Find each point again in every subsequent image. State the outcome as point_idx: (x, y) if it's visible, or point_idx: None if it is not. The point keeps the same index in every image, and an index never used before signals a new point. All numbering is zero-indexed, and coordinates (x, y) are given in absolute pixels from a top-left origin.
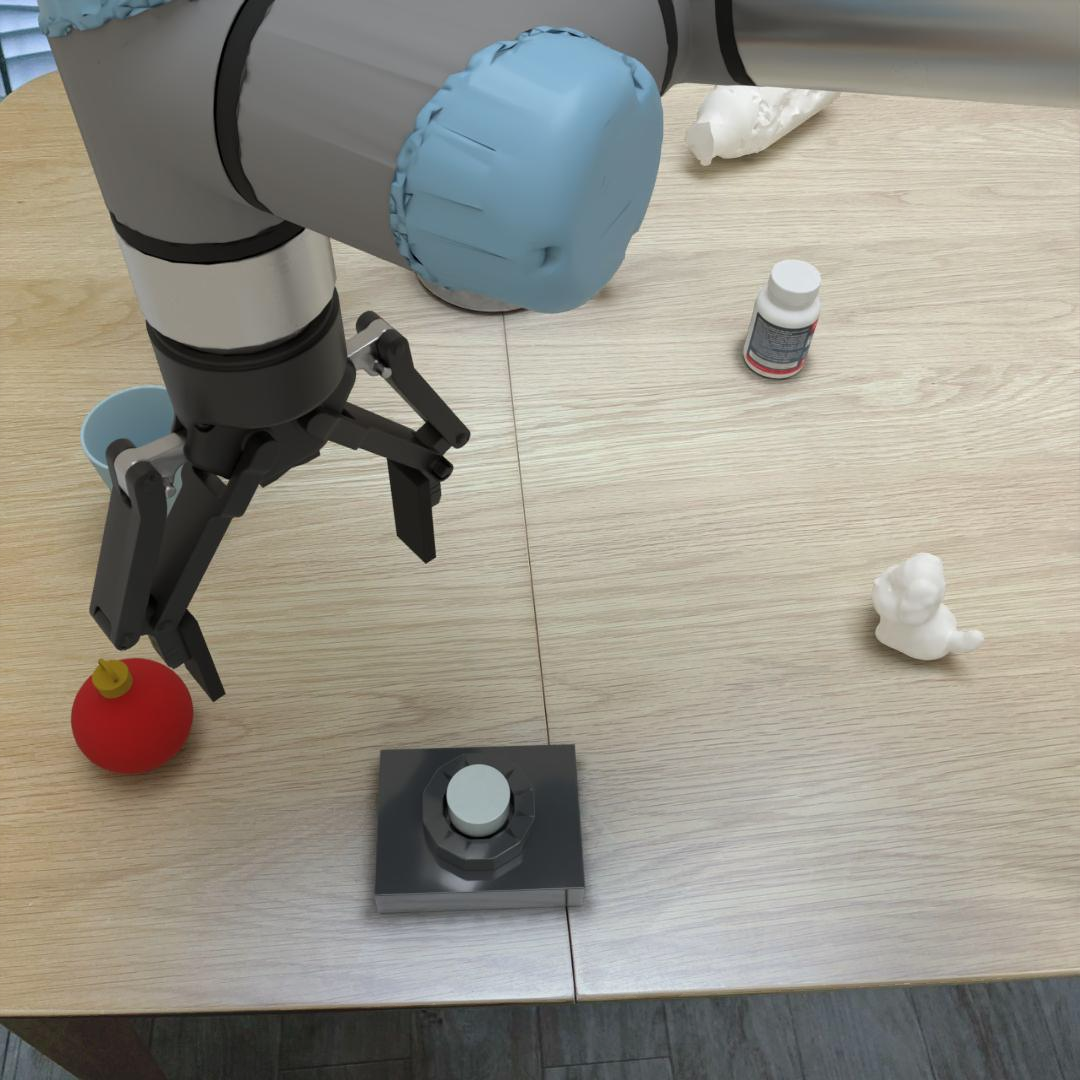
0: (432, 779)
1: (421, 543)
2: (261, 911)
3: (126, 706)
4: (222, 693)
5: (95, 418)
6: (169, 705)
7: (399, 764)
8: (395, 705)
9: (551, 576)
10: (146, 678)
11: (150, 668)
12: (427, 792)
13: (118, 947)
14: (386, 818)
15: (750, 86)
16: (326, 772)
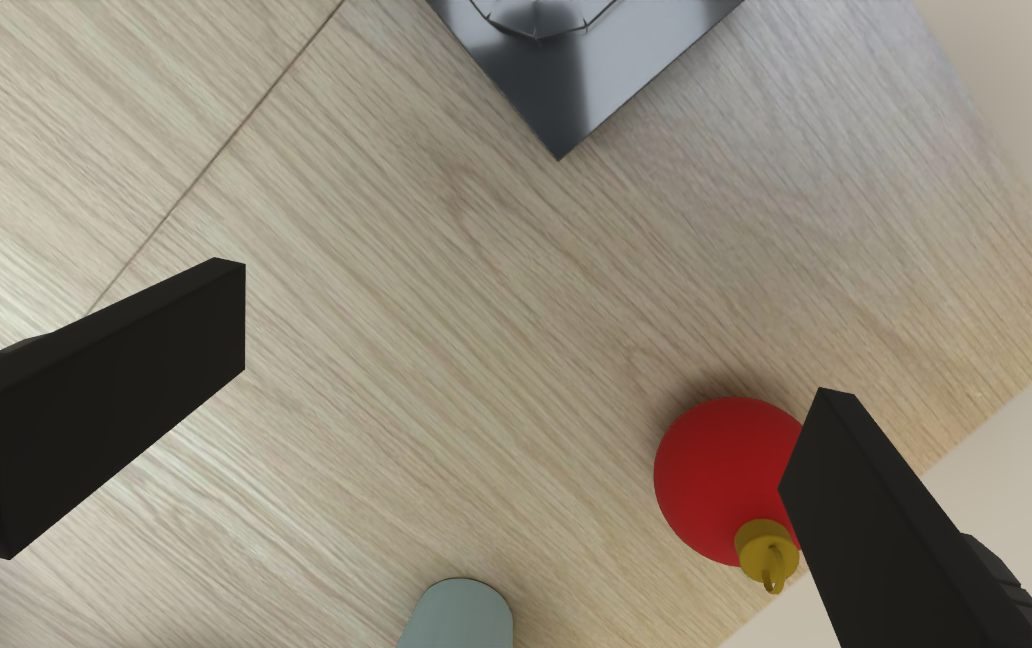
0: (557, 30)
1: (201, 296)
2: (831, 146)
3: (774, 501)
4: (828, 393)
5: None
6: (718, 454)
7: (558, 118)
8: (472, 216)
9: (156, 175)
10: (716, 510)
11: (694, 515)
12: (582, 19)
13: (973, 265)
14: (643, 67)
15: None
16: (613, 222)
